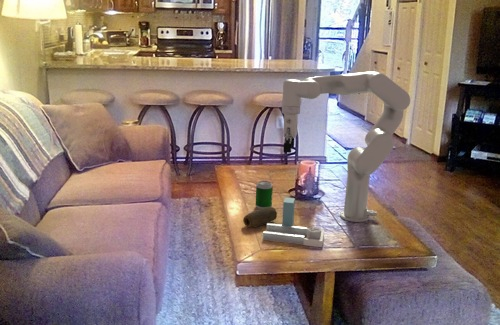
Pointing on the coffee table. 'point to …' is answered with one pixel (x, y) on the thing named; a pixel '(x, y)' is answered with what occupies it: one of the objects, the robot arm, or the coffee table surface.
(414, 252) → the coffee table surface
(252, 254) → the coffee table surface
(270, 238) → the slot rails
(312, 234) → the die
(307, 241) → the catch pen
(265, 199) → the soda can
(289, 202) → the block
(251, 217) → the brown hollow cylinder
